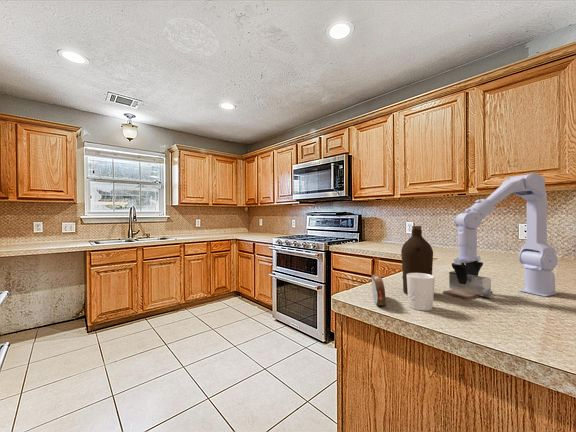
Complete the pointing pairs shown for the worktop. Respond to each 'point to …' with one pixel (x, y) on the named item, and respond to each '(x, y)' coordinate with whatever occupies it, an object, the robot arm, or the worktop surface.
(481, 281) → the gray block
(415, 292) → the white cup
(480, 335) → the worktop surface
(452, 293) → the walnut board
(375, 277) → the tin
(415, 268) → the olive oil
